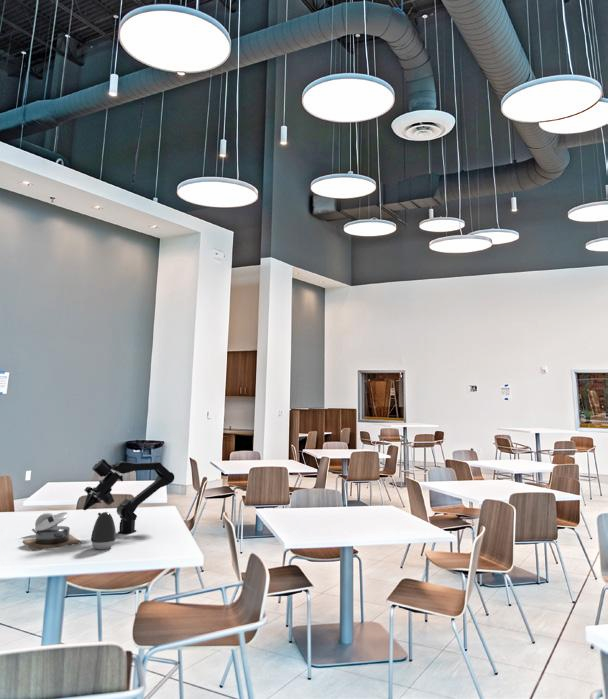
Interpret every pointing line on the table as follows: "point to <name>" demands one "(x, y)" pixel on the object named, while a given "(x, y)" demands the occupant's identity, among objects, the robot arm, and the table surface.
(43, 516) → the donut
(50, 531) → the cooking pot
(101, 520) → the dark grey egg shape
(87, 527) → the table surface
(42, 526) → the cooker lid
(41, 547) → the walnut trivet
